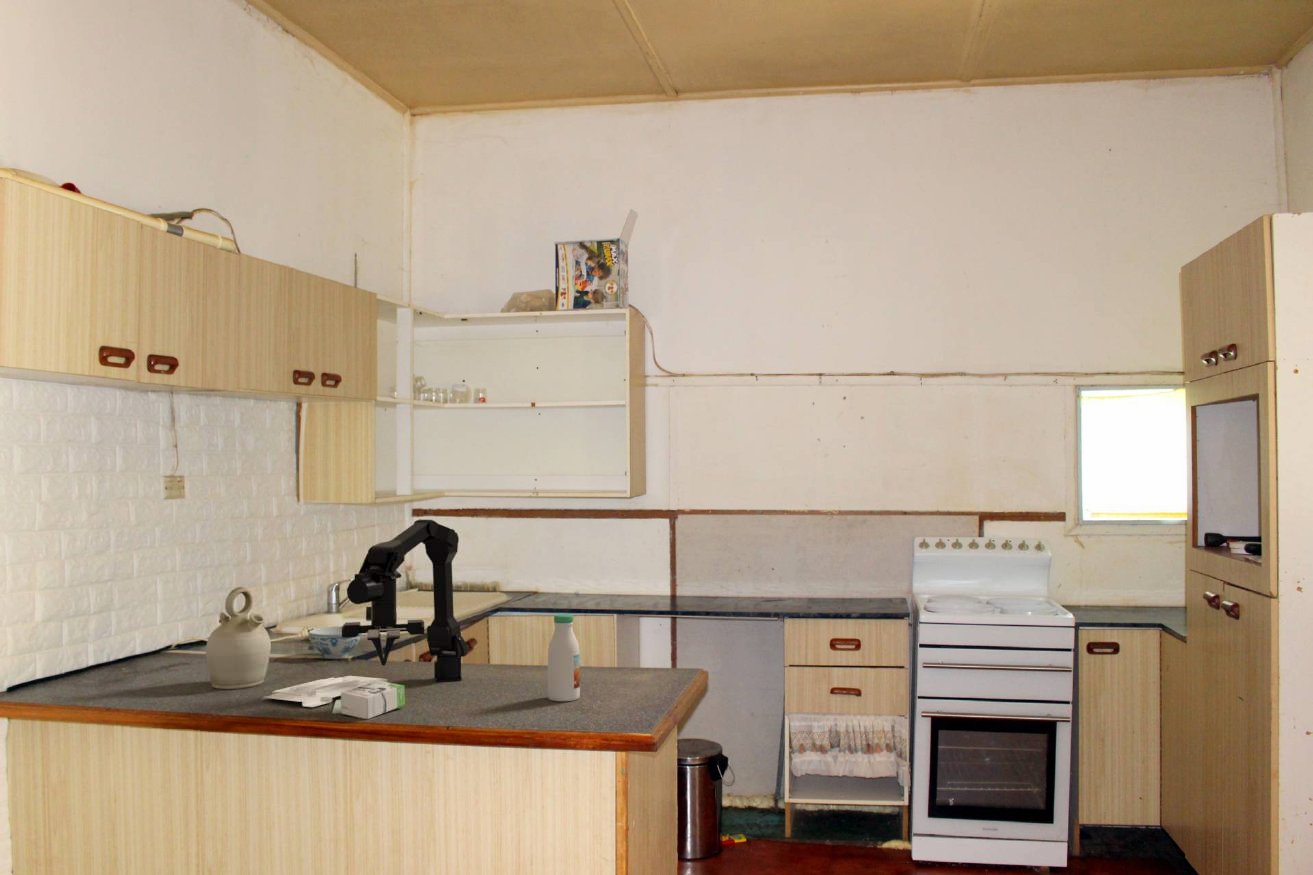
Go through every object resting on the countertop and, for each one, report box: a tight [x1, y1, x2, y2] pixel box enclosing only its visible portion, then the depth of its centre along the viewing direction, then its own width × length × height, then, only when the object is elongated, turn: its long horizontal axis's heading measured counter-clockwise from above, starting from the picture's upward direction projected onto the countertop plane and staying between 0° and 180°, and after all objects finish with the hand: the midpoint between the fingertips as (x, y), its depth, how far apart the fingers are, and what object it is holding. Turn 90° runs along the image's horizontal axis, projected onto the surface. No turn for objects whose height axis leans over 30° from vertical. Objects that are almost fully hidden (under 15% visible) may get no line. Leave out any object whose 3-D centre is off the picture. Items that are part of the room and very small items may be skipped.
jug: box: [205, 586, 272, 690], centre depth 256 cm, size 15×16×25 cm
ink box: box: [340, 681, 406, 720], centre depth 225 cm, size 9×5×12 cm
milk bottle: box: [547, 613, 581, 702], centre depth 238 cm, size 8×8×20 cm
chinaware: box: [308, 625, 363, 659], centre depth 293 cm, size 15×15×8 cm
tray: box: [261, 675, 395, 708], centre depth 245 cm, size 20×28×4 cm
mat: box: [331, 699, 342, 715], centre depth 231 cm, size 12×12×1 cm
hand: (383, 665), depth 233 cm, fingers closed
